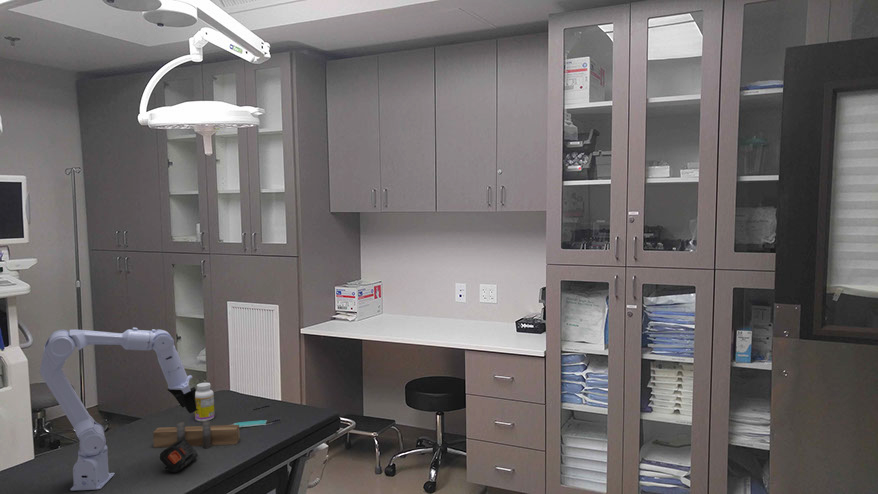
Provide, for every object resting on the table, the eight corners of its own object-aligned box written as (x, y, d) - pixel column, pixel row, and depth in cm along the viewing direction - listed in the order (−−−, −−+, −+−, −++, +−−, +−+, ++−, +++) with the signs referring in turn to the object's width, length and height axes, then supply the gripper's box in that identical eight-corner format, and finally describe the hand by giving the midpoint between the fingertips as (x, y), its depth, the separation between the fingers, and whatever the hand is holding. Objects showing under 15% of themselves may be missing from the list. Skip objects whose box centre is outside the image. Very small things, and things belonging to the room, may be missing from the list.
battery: (164, 480, 177) (182, 467, 176) (149, 456, 178) (167, 443, 177) (188, 467, 188) (205, 454, 188) (174, 444, 189) (191, 432, 189)
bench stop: (235, 447, 196) (234, 422, 196) (151, 450, 194) (149, 426, 193) (239, 439, 203) (238, 415, 202) (158, 442, 200) (157, 418, 200)
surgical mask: (271, 404, 226) (283, 410, 219) (271, 415, 226) (284, 422, 219) (216, 417, 212) (227, 425, 205) (216, 429, 213) (228, 437, 205)
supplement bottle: (194, 417, 224) (193, 383, 223) (213, 414, 226) (212, 380, 225) (195, 423, 218) (194, 388, 217) (215, 420, 220) (214, 385, 219)
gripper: (193, 366, 178) (209, 407, 181) (179, 358, 190) (194, 397, 193) (169, 378, 174) (186, 419, 177) (156, 369, 186) (172, 408, 189)
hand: (189, 408), depth 185 cm, fingers open, 7 cm apart
